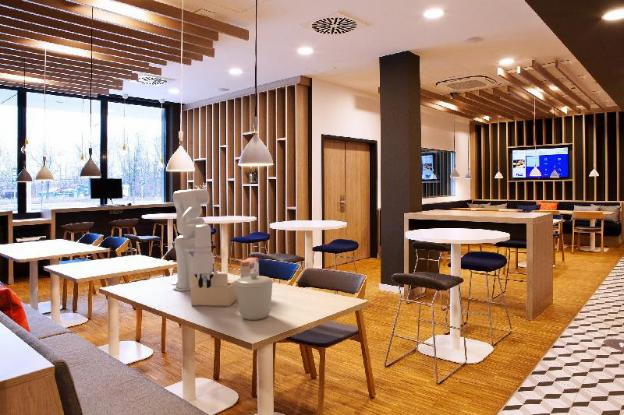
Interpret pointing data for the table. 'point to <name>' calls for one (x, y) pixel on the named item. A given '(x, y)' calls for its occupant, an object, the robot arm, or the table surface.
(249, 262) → the cracker box
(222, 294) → the carton
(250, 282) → the canister
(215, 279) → the near flap
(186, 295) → the table surface
